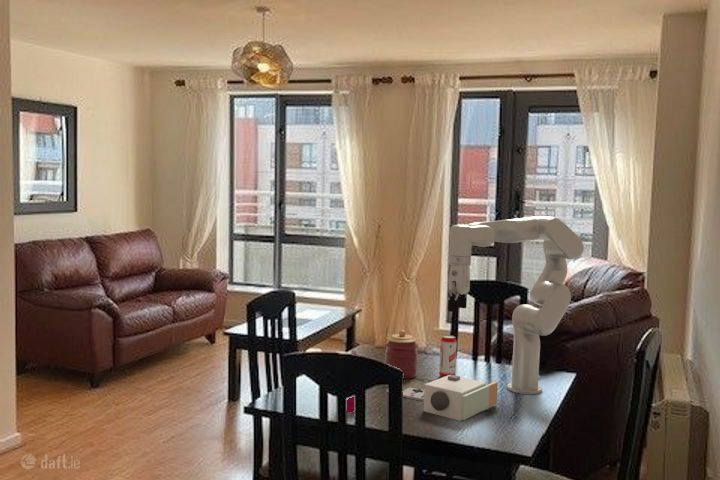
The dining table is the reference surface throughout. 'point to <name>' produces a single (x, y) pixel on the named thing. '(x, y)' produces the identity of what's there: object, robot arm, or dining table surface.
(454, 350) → the beer can
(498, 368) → the dining table surface
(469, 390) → the block
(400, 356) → the canister
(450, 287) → the robot arm
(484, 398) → the side door
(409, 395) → the handheld gaming console
